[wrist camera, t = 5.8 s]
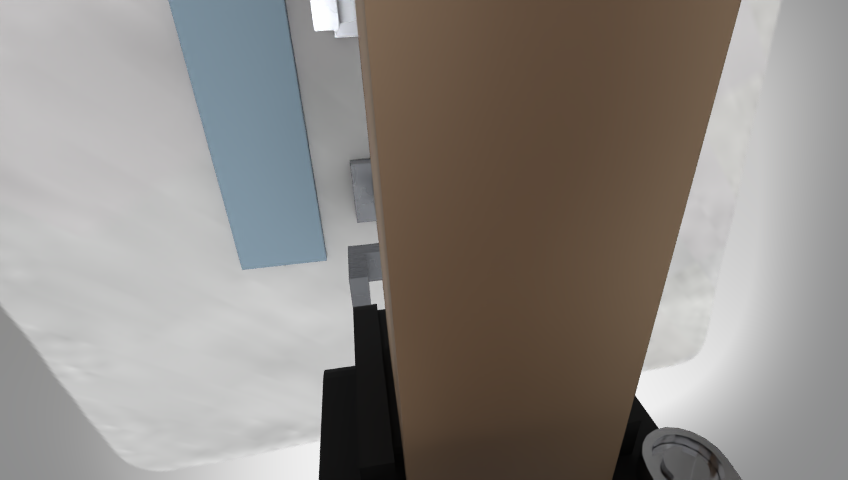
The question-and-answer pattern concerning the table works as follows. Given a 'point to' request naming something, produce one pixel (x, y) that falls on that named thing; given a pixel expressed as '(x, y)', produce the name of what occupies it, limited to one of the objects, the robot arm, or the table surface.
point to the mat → (253, 126)
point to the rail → (529, 215)
